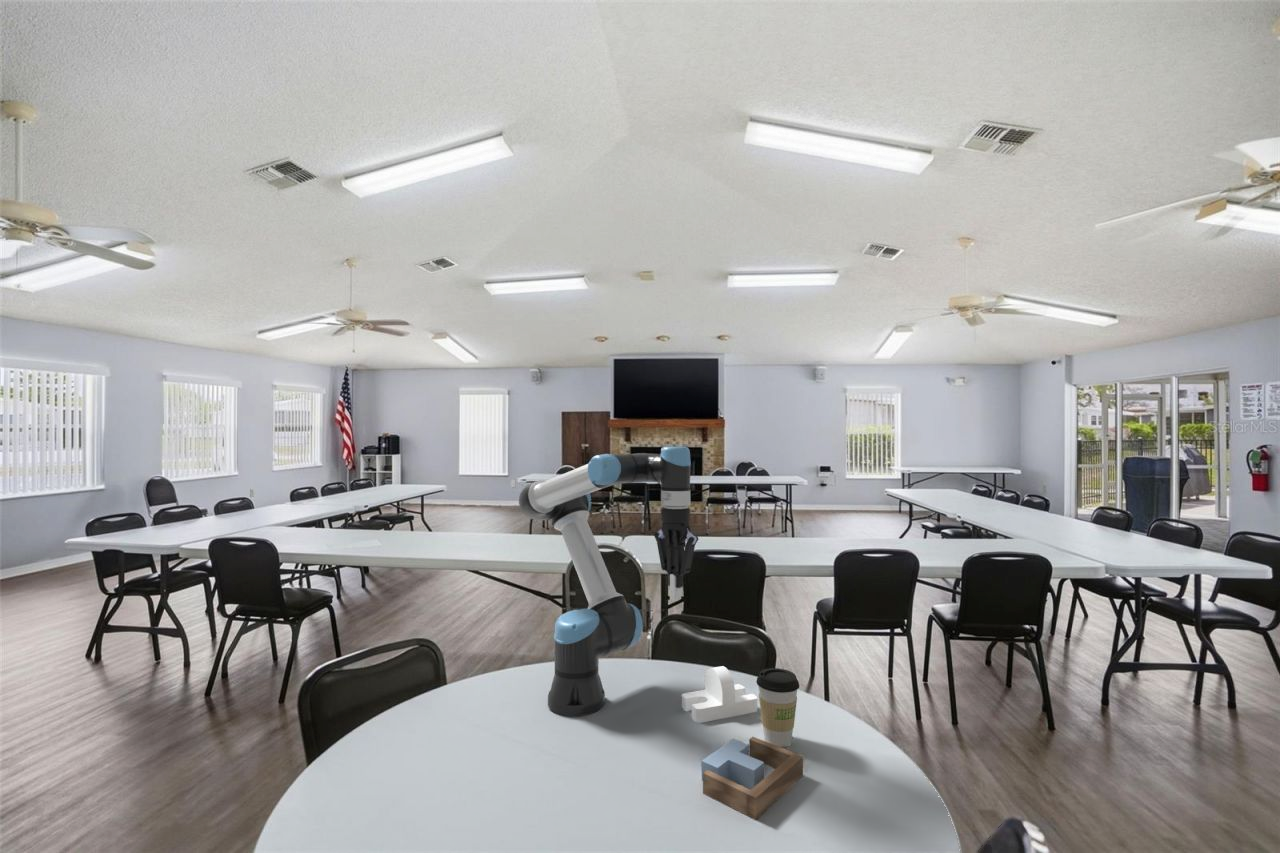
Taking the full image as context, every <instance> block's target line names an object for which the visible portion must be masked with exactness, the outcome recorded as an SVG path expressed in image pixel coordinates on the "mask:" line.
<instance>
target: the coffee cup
mask: <svg viewBox="0 0 1280 853" xmlns="http://www.w3.org/2000/svg"><path fill="white" fill-rule="evenodd" d="M758 673H759V674H758V676H757V677H756V681H755V682H756V684H757V686H758V692H759V693H758V699H759V707H760V715H761V716H760V717H761V725H762V728H763V739H764V741H765V742H768V743H770V744H773V745H776V746H778V747H781V748H785V747H789V746H791V744H792V742H793V741H792V740H793V730H794V727H795V720H796V711H797V710H796V709H797V701H798V697H797V696H798V694H797V693H798V689H800V682H799V680H798V678H797V675H796V674H795V673H794V672H792V671H791V670H788V669H784V668H779V667H777V668H776V667H770V668H764V669H762V670H760V671H759V672H758Z"/></svg>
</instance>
